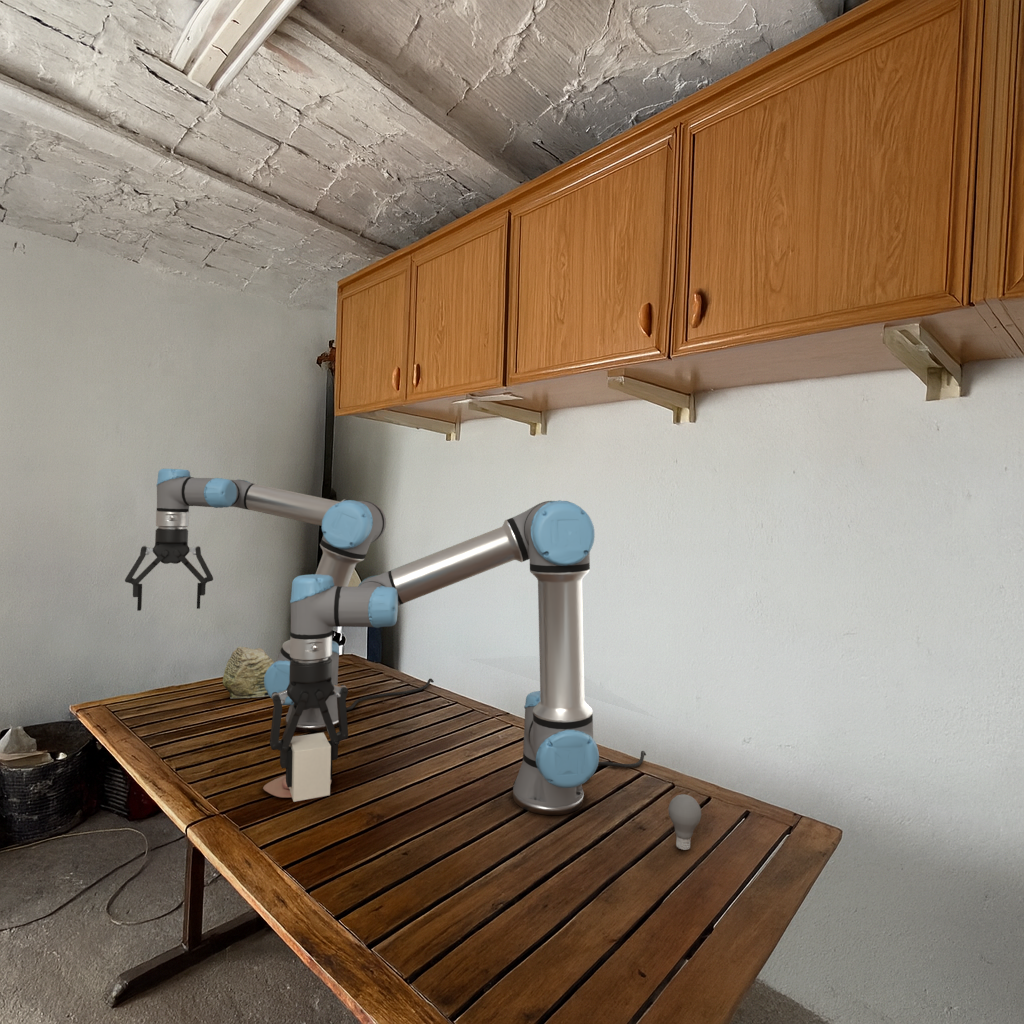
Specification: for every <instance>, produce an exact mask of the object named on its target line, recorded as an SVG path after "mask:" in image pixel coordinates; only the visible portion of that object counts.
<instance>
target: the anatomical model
mask: <svg viewBox="0 0 1024 1024" xmlns="http://www.w3.org/2000/svg"><path fill="white" fill-rule="evenodd" d="M331 784H332V780H330V785H331ZM262 789H263V791H264V792H266V793H268V794H270V795H272V796H274V797H277V798H283V799H284V798H285V799H287V798H292V795H291V792H290V789H289V787H287V784H286V774H284V775H281V776H279V777H277V778H275V779H272V780H271V781H269V782H267V783H266V784H265V785H264V786H263V788H262Z"/></svg>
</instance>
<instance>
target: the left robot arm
mask: <svg viewBox="0 0 1024 1024" xmlns="http://www.w3.org/2000/svg"><path fill="white" fill-rule="evenodd" d="M190 507H202V508H203V507H204V508H213V509H214V508H215V509H222V508H238V509H242V510H248V511H253V512H258V513H262V514H267V515H272V516H276V517H279V518H283V519H290V520H294V521H298V522H303V523H307V524H312V525H316V526H321V532H322V538H321V541H320V543H319V546H320V549H321V550H322V555H321V558H320V560H319V563H318V566H317V569H316V572H315V574H320V575H329V576H331V577H332V578H333V583H334V586H342V587H349V584H350V581H351V578H352V576H353V574H354V570H355V568H356V566H357V564H358V563H360V562H363V561H364V560H365V559H366V556H367V553H368V551H369V548H370V545H371V544H372V543H374V542H376V541H378V540H379V539H380V538H381V537H382V536H383V534H384V533H385V531H386V527H387V518H386V514H385V512H384V510H383V509H382V507H380V506H379V505H378V504H376V503H374V502H372V501H369V500H354V499H347V498H344V499H342V500H340V501H338V500H333V499H329V498H324V497H321V496H320V497H319V496H315V495H311V494H306V493H300V492H296V491H291V490H287V489H282V488H278V487H272V486H268V485H264V484H258V483H254V482H251V481H248V480H245V479H229V478H223V477H193V476H191V472H190V471H189V469H181V468H180V469H179V468H161V469H159V470H158V472H157V483H156V511H155V526H156V527H157V528H156V529H155V533H154V534H155V536H154V538H155V539H154V546H153V547H152V546H147V545H142V546H141V548H140V551H139V552H140V553H139V556H138V557H137V559H136V561H135V562H134V564H133V566H132V567H131V569H130V571H129V572H128V574H127V575H126V577H125V579H124V582H125V583H129V584H131V585H132V598H137V608H136V609H137V611H139V612H140V611H142V606H143V605H142V603H143V583H141V582H142V581H143V580H144V578H146V577H147V576H148V574H150V573H151V572H152V571H153V570H154V568H156V567H157V566H158V565H159V564H160V563H162V564H165V565H168V564H173V565H175V564H176V565H178V564H180V563H182V564H183V565H184V566H185V567H186V568H187V569H188V571H189V572H191V574H193V576H194V577H195V579H197V580H198V582H197V588H196V609H197V610H200V609H201V597H202V596H205V595H206V585H207V583H209V582H213V580H214V576H213V573H211V571H210V569H209V567H208V565H207V562H206V561H205V559H204V557H203V555H202V549H201V546H200V545H196V546H192V547H189V530H188V529H187V528H188V527H189V519H190V517H189V514H190ZM190 552H191V554H192V556H195V557H196V559H197V561H198V563H199V564H200V566H201V569H202V571H203V572H204V574H205V577H204V576H203V575H202V574H201V572H200V571H198V569H197V568H196V567H195V566H194V565H193V564H192V563H191V562H190V561H189V559H187V555H188V554H189V553H190ZM151 553H153V554H154V555H155V559H154V560H153V561H152V562H150V564H149V565H148V566H147V567H146V568H145V569H144V570H143V571H142V572H140V573H139V575H138V576H137V577H135V578H134V576H135V574H136V572H137V571H138V569H139V567H140V566H141V564H142V563H143V562H144V560H145V558H146V556H148V555H150V554H151ZM330 658H331V659H332V682H333V684H334V685H338V686H339V684H338V682H339V662H340V661H339V660H340V645H339V643H338V642H337V641H335V640H332V655H331V656H330ZM291 660H292V658H291V657H290V639H288V640H286V641H284V642H283V643H282V646H281V648H280V650H279V653H278V656H277V658H276V661H275V662H274V663H273V664H272V665H271V666H270V667H269V668H268V670H267V671H266V673H265V677H264V686H265V689H266V690H267V692H268V695H269V696H268V697H270V699H272V693H273V692H277V693H279V692H282V691H285V690H286V689H287V687H288V685H289V679H290V661H291ZM434 681H435V680H434V679H432V678H431V677H430V678H429V679H428V680H427V682H426V684H425V685H423V686H421V687H417V688H413V689H409V690H404V691H393V692H384V693H377V694H372V695H367V696H363V697H360V698H357V699H356V700H355V701H354V702H353V703H352V704H351V705H350V706H346V711H351V710H353V709H354V708H355V707H356V705H357V704H359V703H360V702H363V701H368V700H370V699H371V700H372V699H377V698H383V697H392V696H400V695H406V694H407V695H408V694H412V693H416V692H419V691H423V690H425V689H427V688H428V687H429V685H430V684H431V683H434ZM293 705H294V702H293V701H292V700H291V699H290V698H289V696H288V697H286V699H285V703H284V704H282V706H289V708H288V711H287V713H286V715H285V727H286V726H287V723H288V720H289V717H290V715H291V712H292V708H293ZM326 705H327V708H328V711H329V714H330V717H331V719H332V722H333V725H334V728H335V729H336V728H337V727H339V721H338V708H337V697H336V696H335V692H334V691H333V692H332V693H331V695H330V696H329V697H328V699H327V700H326ZM295 731H296V732H301V733H319V732H325V731H327V728H326V725H325V723H324V720H323V717H322V714H321V711H320V709H319V708H316V709H315V708H310V709H307V710H303V712H302V714H301V716H300V718H299V721H298V724H297V726H296V729H295Z"/></svg>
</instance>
